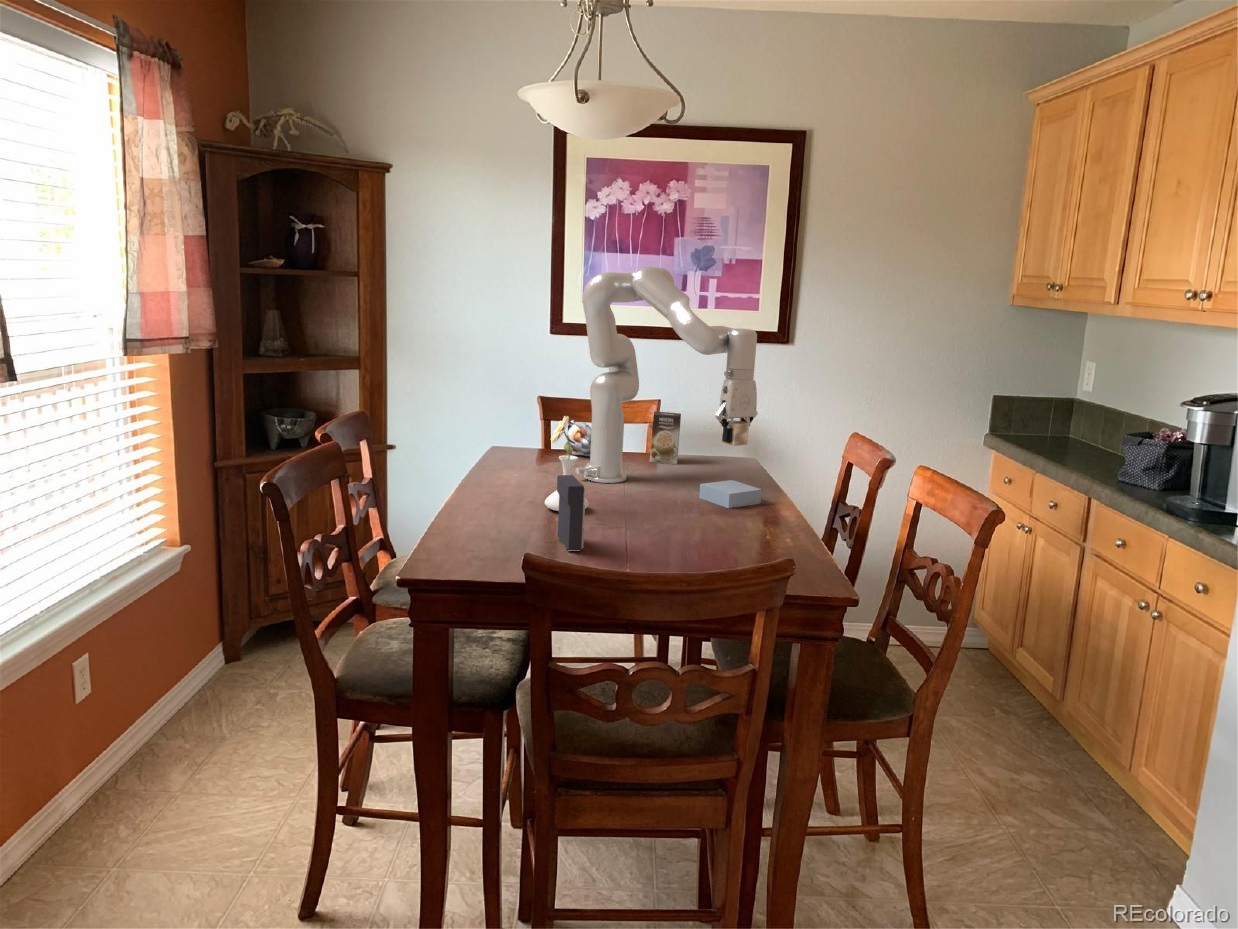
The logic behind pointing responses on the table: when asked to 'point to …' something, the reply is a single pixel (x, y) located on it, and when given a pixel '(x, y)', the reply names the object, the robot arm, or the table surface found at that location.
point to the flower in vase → (567, 463)
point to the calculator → (571, 512)
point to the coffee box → (665, 437)
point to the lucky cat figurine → (579, 437)
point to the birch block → (739, 433)
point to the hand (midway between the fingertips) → (734, 440)
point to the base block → (730, 493)
